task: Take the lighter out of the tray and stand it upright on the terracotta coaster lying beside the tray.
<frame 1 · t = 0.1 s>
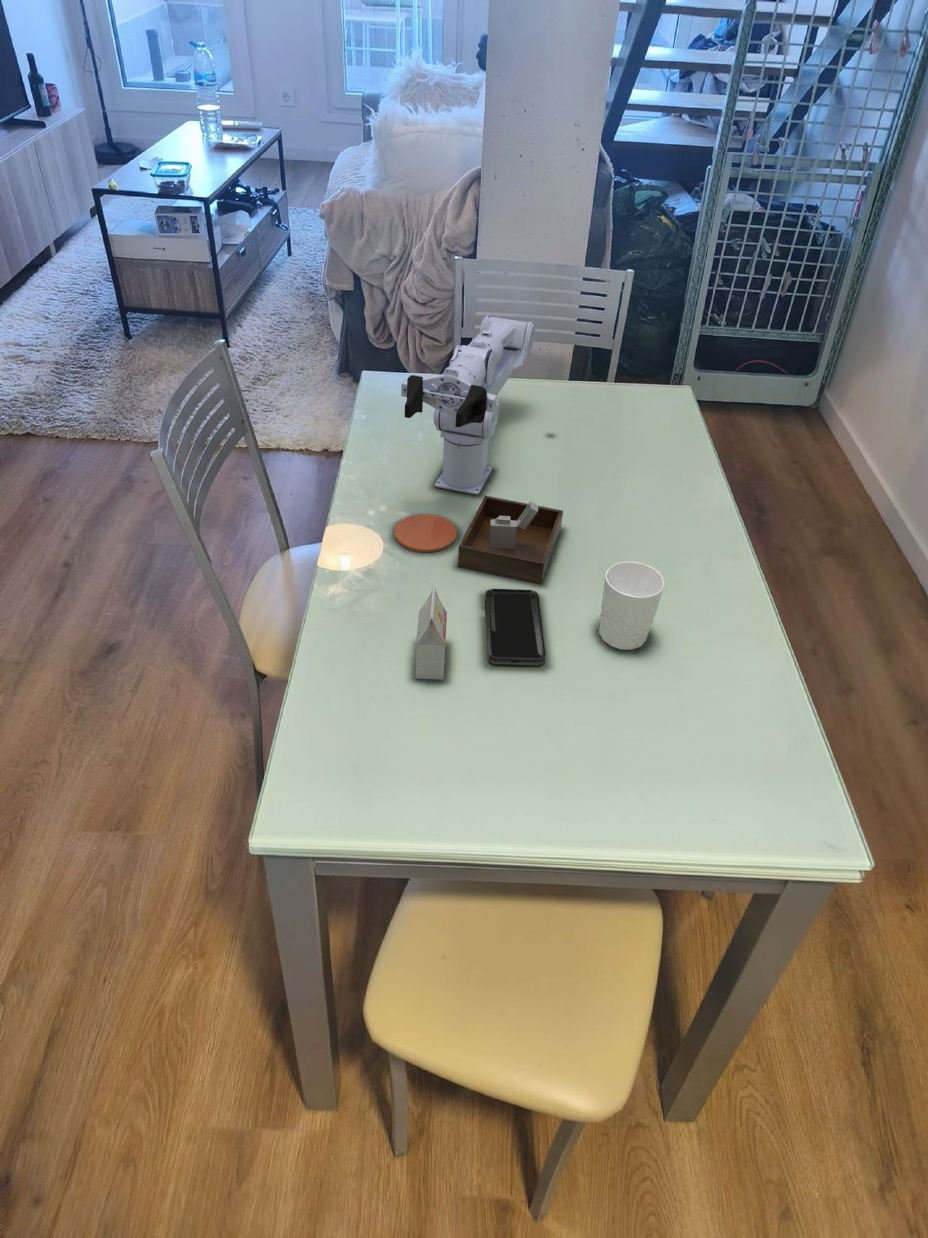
hand: (432, 415, 118), 22 cm above the table, tool horizontal, fingers open, 7 cm apart
coaster: (425, 534, 133), on the table
tray: (510, 547, 131), on the table
milk carton: (430, 662, 110), on the table
phone: (513, 629, 116), on the table
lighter: (510, 546, 131), resting on tray
white cup: (622, 635, 116), on the table
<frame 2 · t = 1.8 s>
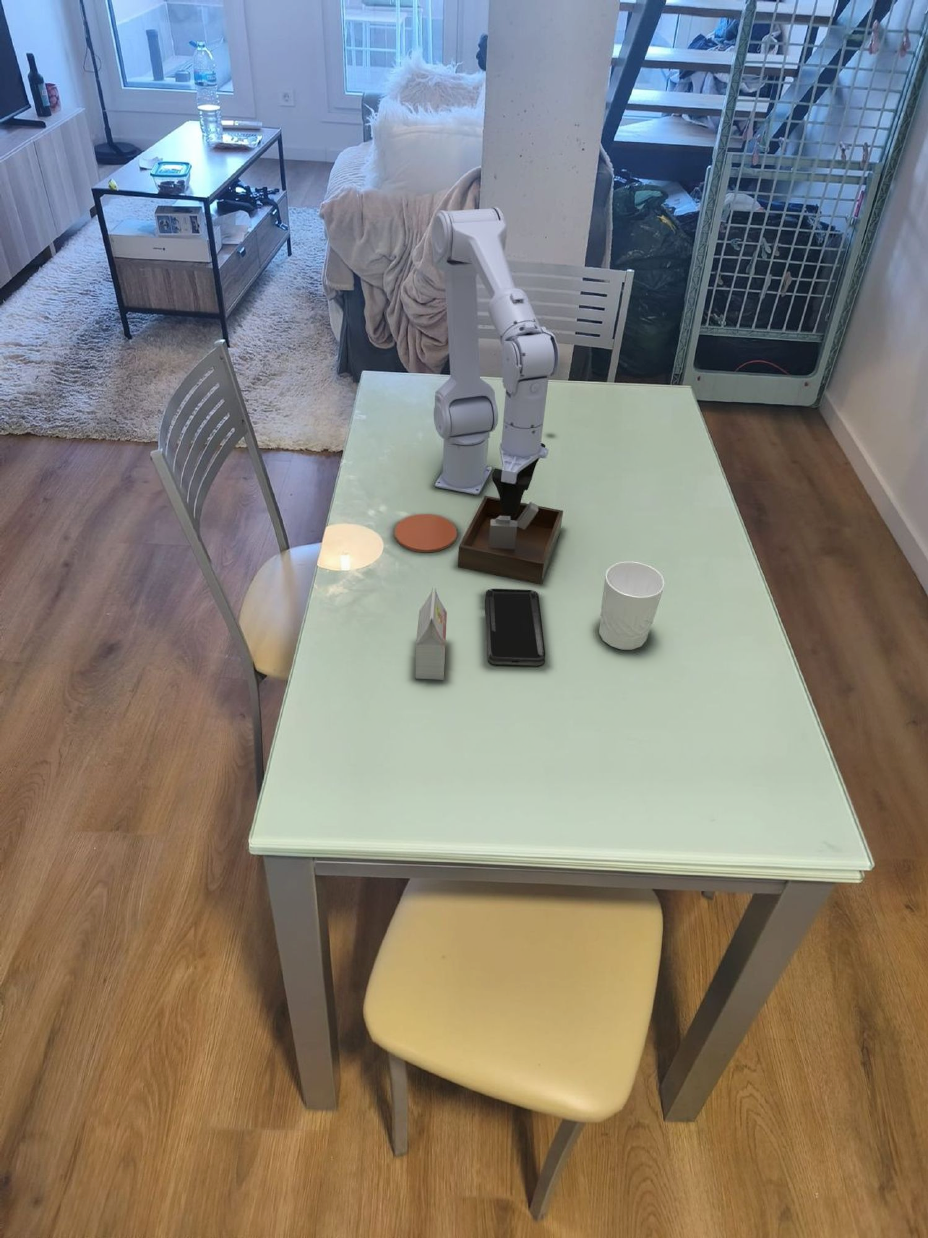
hand: (515, 500, 125), 9 cm above the table, tool pointing down, fingers open, 7 cm apart
nothing on the table moved.
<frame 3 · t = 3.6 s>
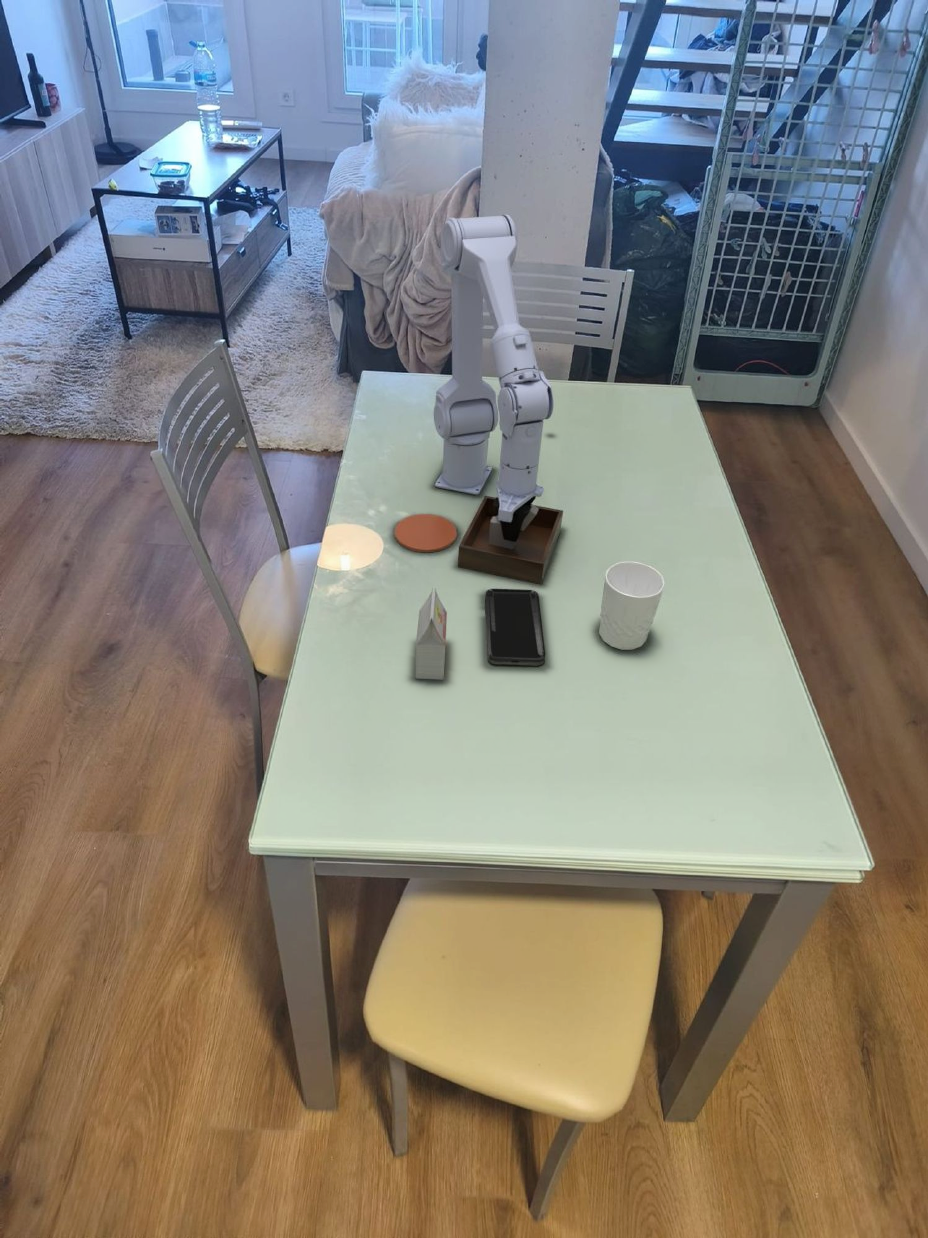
hand: (512, 535, 129), 2 cm above the table, tool pointing down, fingers closed on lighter, 2 cm apart
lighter: (511, 546, 131), resting on tray, touching gripper
everything else where it was.
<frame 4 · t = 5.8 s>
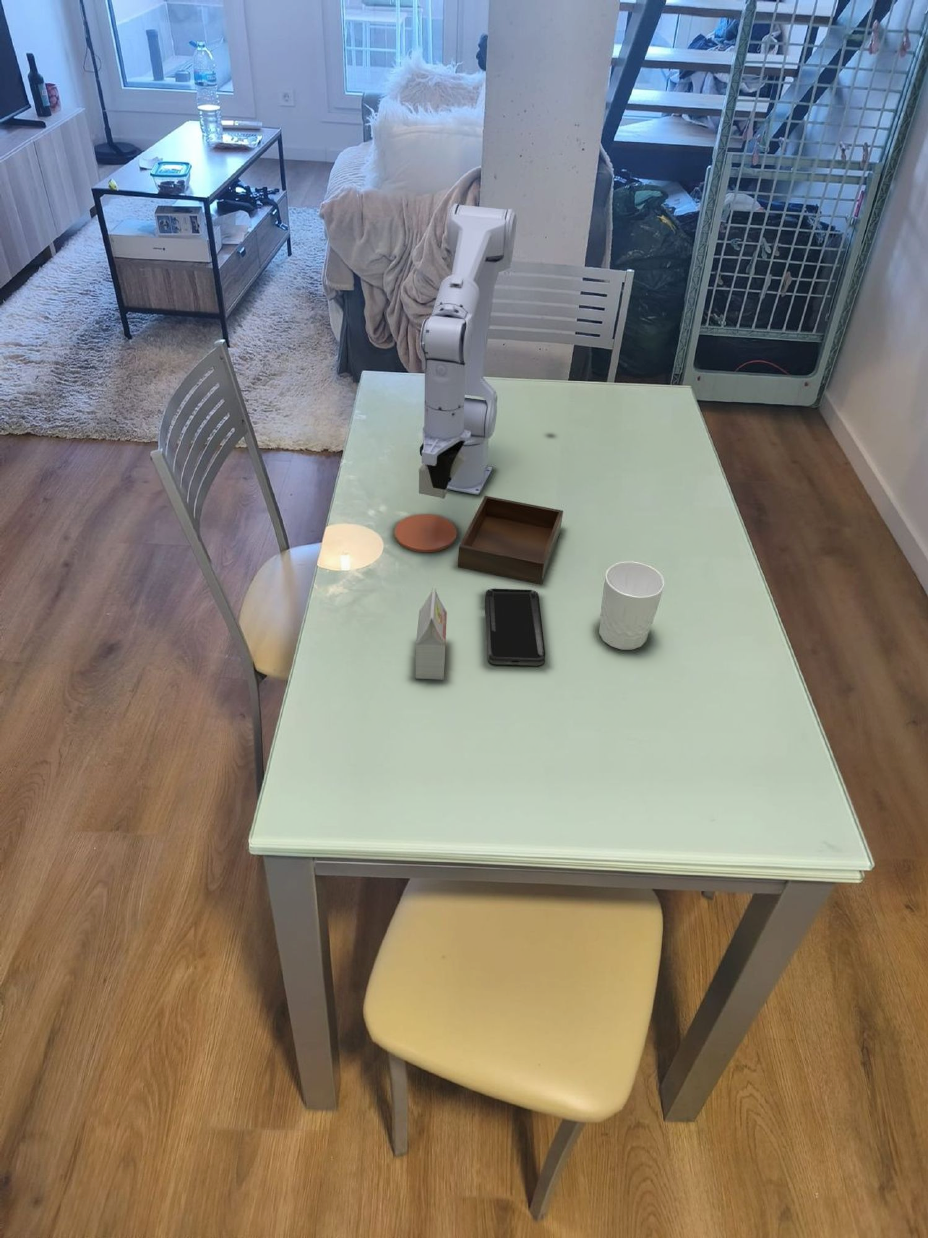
hand: (442, 483, 126), 10 cm above the table, tool pointing down, fingers closed on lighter
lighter: (441, 495, 127), point 8 cm above the table, touching gripper
everything else where it was.
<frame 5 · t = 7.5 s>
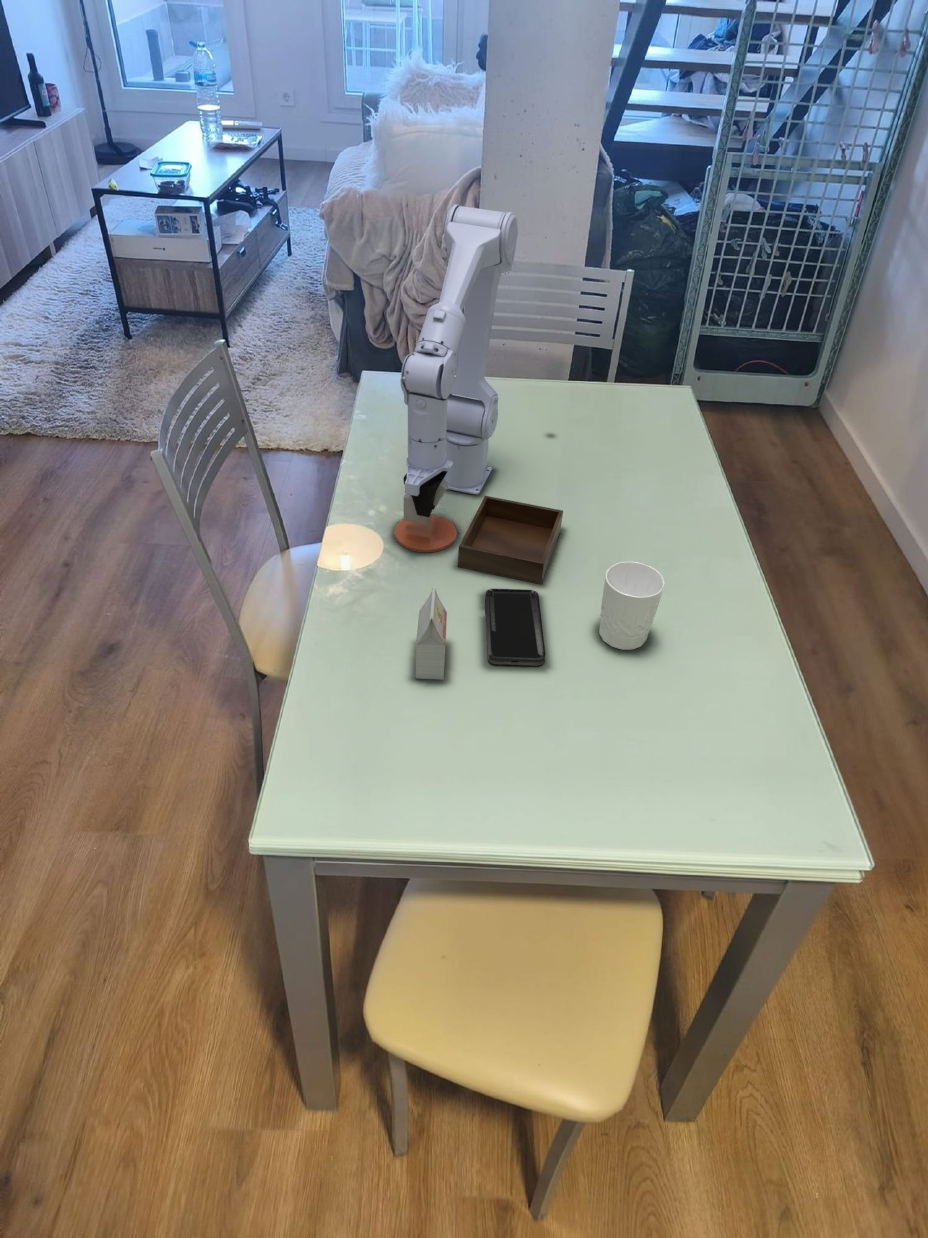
hand: (425, 511, 130), 4 cm above the table, tool pointing down, fingers closed on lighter, 2 cm apart
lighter: (425, 522, 131), point 2 cm above the table, touching gripper
everything else where it was.
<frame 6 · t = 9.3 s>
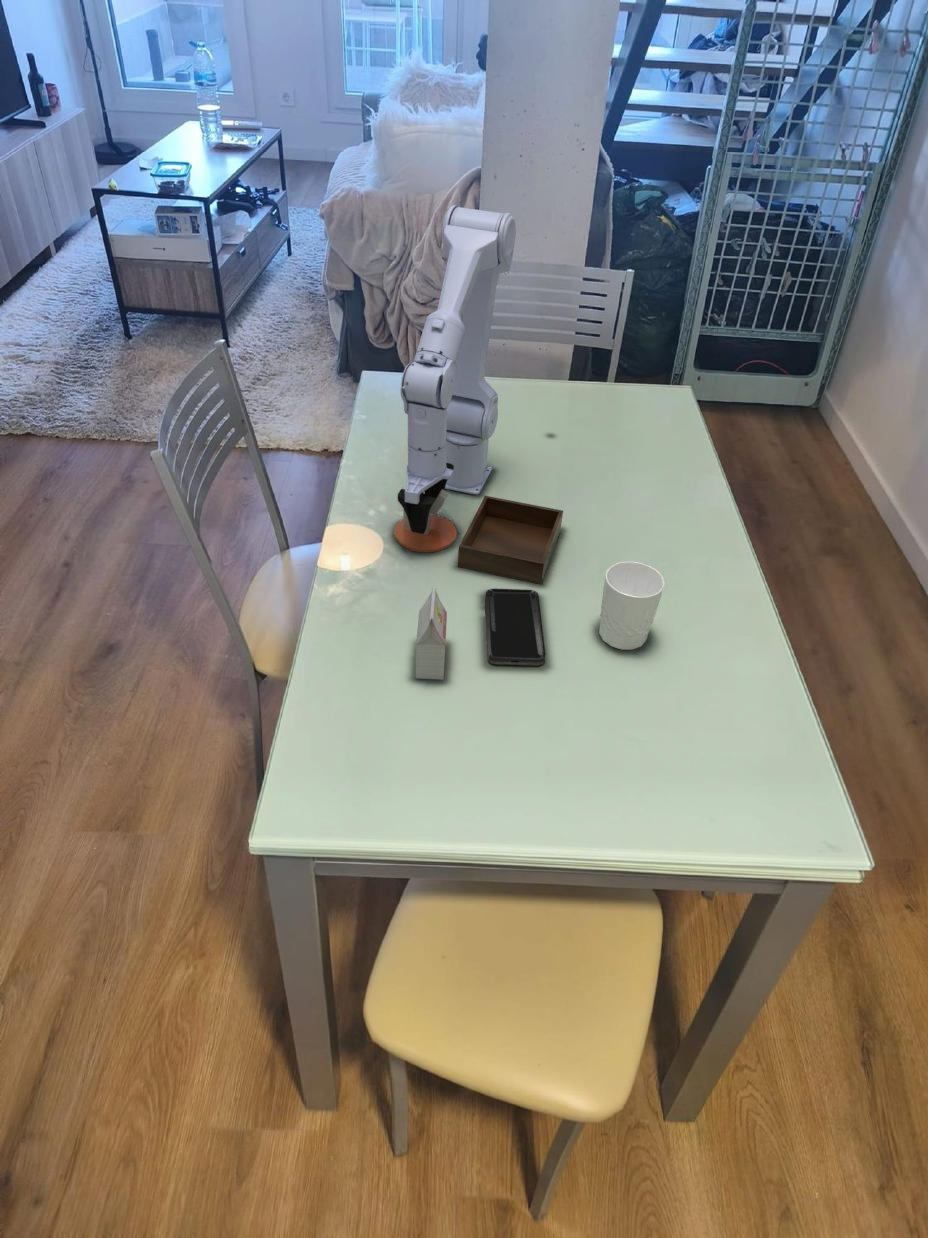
hand: (425, 518, 131), 3 cm above the table, tool pointing down, fingers open, 7 cm apart
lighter: (425, 532, 132), resting on coaster
everything else where it was.
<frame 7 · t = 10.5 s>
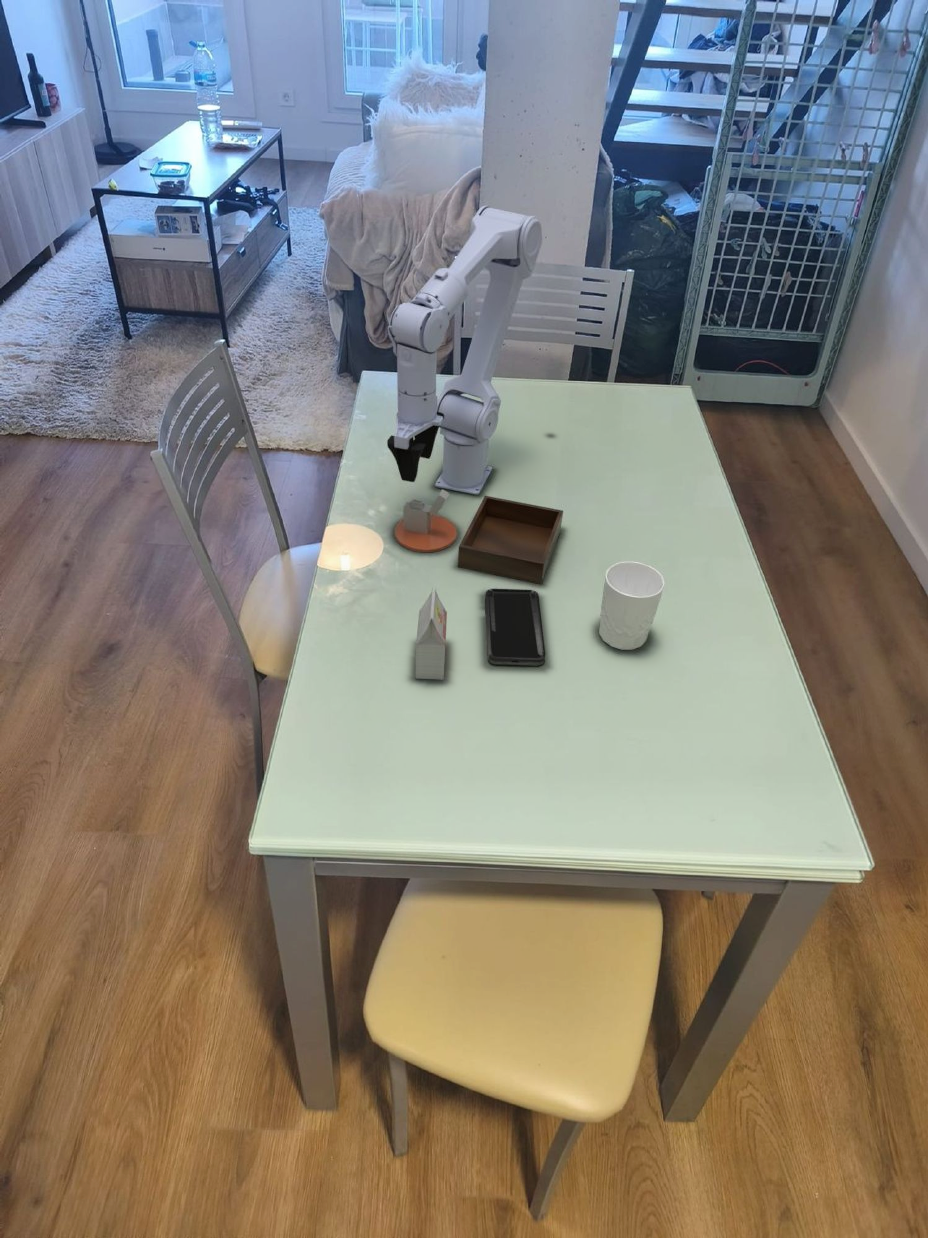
hand: (416, 468, 130), 9 cm above the table, tool pointing down, fingers open, 7 cm apart
nothing on the table moved.
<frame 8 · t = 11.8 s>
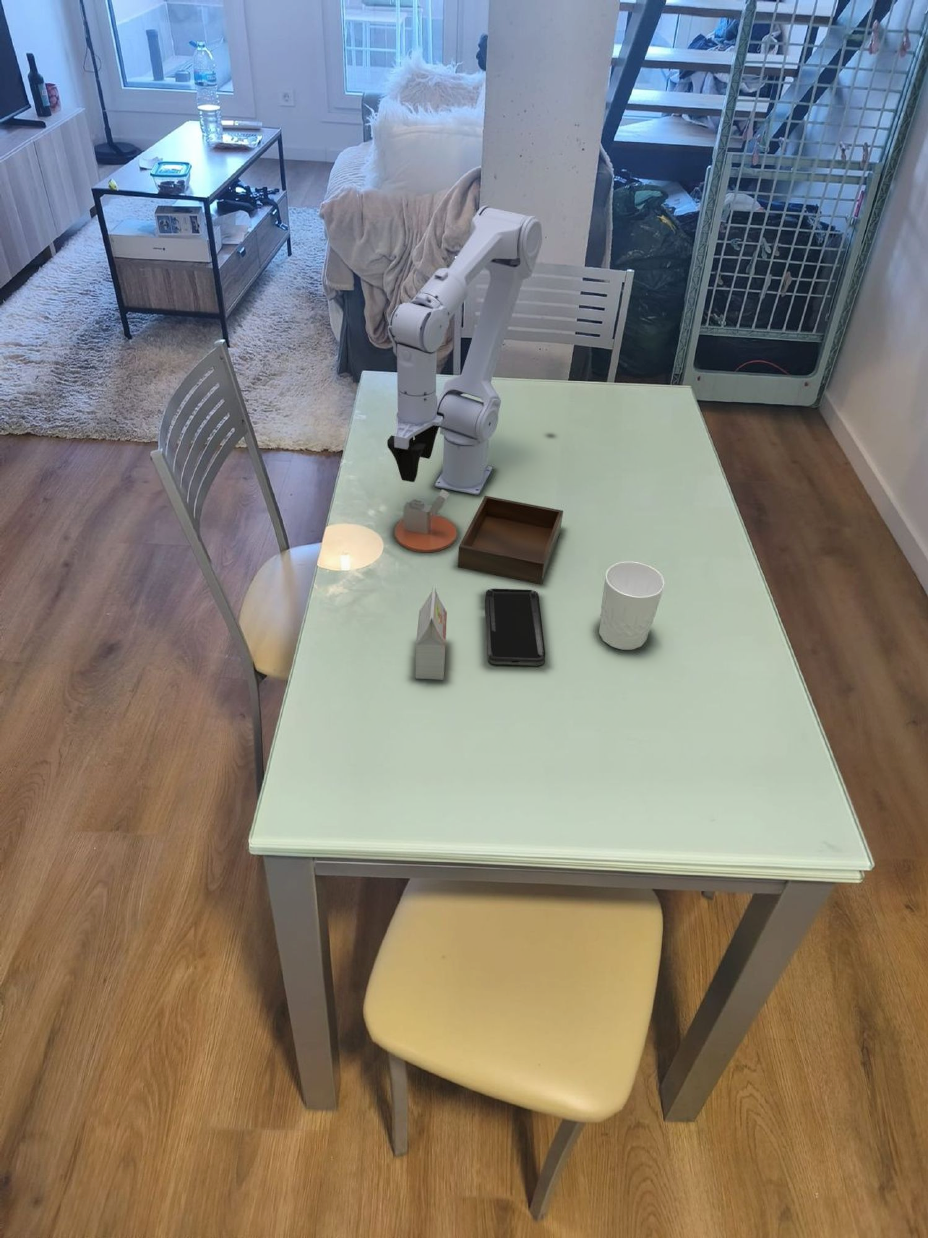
hand: (416, 468, 130), 9 cm above the table, tool pointing down, fingers open, 7 cm apart
nothing on the table moved.
at the end: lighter inside the target area on the coaster (0.0 cm from its centre), point 0.4 cm above the coaster's base; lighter tilted 0°; the gripper is holding nothing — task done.
